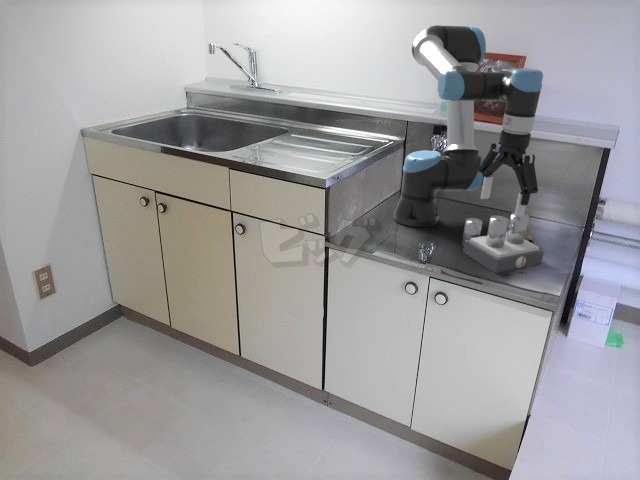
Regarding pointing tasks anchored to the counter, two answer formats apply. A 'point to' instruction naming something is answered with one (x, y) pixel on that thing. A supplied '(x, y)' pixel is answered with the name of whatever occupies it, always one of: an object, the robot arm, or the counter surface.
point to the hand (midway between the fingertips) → (501, 206)
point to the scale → (503, 254)
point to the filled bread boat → (528, 237)
